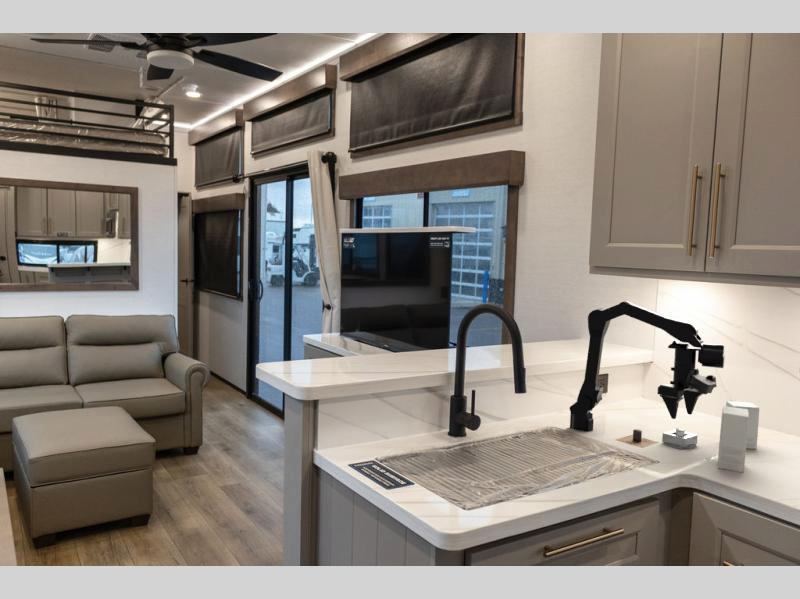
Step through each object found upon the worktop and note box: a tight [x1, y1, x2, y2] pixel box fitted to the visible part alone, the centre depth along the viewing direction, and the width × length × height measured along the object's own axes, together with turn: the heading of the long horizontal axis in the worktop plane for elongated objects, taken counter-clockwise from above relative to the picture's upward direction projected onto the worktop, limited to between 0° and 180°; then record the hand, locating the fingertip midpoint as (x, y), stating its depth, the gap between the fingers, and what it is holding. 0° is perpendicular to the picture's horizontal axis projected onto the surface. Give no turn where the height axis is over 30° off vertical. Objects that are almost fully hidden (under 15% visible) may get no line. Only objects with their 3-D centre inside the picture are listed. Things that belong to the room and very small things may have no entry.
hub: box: [662, 427, 697, 450], centre depth 188 cm, size 9×9×6 cm
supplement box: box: [725, 400, 760, 450], centre depth 192 cm, size 7×7×13 cm
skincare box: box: [717, 405, 749, 473], centre depth 172 cm, size 8×7×16 cm
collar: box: [661, 429, 698, 448], centre depth 188 cm, size 7×7×3 cm
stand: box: [615, 429, 660, 448], centre depth 190 cm, size 9×9×4 cm
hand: (681, 416), depth 188 cm, fingers open, 9 cm apart
